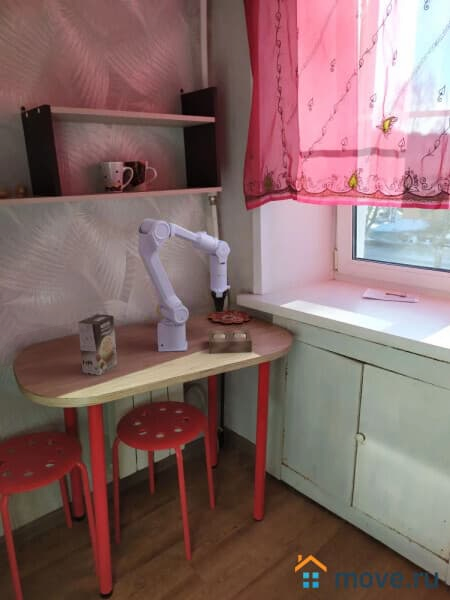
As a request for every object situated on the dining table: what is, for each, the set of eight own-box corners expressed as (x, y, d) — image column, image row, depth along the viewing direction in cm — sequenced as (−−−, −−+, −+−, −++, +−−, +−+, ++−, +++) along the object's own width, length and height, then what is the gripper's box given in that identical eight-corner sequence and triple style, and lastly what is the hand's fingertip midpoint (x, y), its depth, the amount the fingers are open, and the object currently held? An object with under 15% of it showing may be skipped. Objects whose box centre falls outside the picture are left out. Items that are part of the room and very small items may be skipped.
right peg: (234, 347, 156) (234, 337, 155) (233, 342, 160) (233, 333, 159) (246, 346, 156) (246, 337, 155) (245, 342, 160) (245, 333, 159)
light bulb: (154, 328, 178) (152, 302, 175) (163, 323, 183) (162, 298, 181) (167, 330, 175) (166, 305, 172) (177, 325, 181) (176, 300, 178)
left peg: (213, 347, 156) (213, 338, 155) (213, 343, 160) (213, 333, 159) (225, 347, 156) (225, 337, 155) (225, 343, 160) (224, 333, 159)
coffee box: (100, 376, 137) (95, 324, 132) (82, 373, 139) (77, 322, 135) (117, 364, 145) (113, 315, 141) (100, 361, 147) (96, 313, 143)
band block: (209, 353, 153) (209, 342, 152) (209, 341, 163) (208, 330, 162) (251, 352, 153) (251, 340, 152) (248, 340, 164) (248, 329, 163)
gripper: (230, 278, 155) (231, 317, 159) (229, 269, 169) (229, 305, 173) (209, 279, 155) (210, 317, 159) (209, 270, 169) (210, 305, 173)
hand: (219, 311), depth 166 cm, fingers closed
